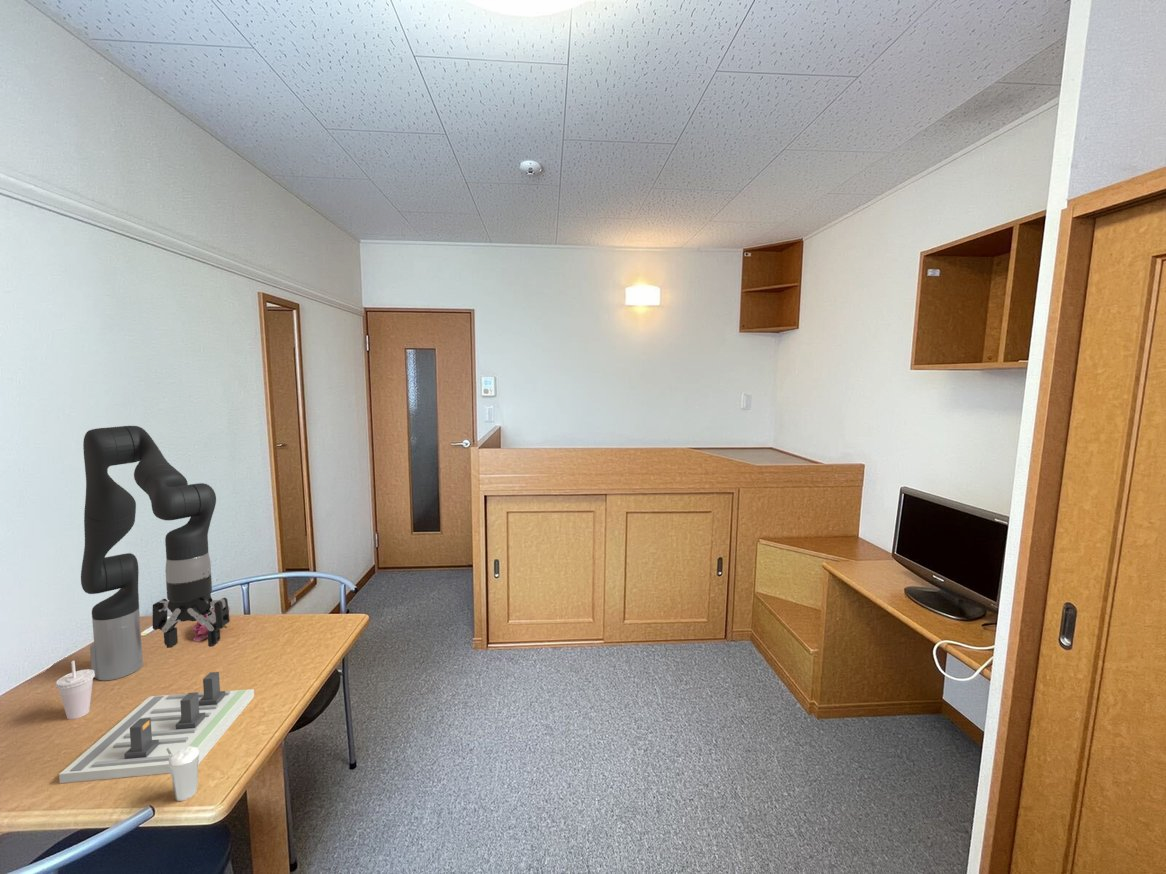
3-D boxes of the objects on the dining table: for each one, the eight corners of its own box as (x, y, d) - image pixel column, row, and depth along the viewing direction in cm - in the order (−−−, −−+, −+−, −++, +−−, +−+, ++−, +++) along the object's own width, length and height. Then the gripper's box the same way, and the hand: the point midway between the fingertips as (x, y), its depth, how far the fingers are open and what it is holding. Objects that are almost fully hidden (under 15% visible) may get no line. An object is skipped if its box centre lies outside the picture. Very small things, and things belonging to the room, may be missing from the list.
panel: (59, 783, 93) (56, 742, 92) (150, 703, 117) (147, 670, 116) (193, 770, 97) (190, 731, 96) (254, 696, 121) (252, 664, 120)
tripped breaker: (124, 759, 97) (122, 729, 96) (138, 746, 100) (136, 717, 100) (146, 757, 97) (144, 727, 97) (158, 744, 101) (157, 716, 100)
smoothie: (52, 726, 108) (47, 670, 107) (67, 709, 114) (62, 656, 112) (90, 718, 111) (86, 663, 110) (102, 702, 117) (98, 650, 115)
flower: (193, 654, 144) (175, 627, 144) (217, 639, 154) (200, 614, 154) (223, 633, 144) (205, 607, 144) (246, 620, 154) (229, 596, 154)
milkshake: (178, 785, 94) (176, 739, 93) (206, 784, 94) (204, 738, 93) (160, 805, 89) (157, 757, 88) (189, 803, 89) (187, 756, 88)
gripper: (138, 582, 96) (143, 656, 98) (211, 581, 98) (215, 653, 99) (167, 569, 104) (171, 637, 105) (234, 568, 105) (238, 635, 107)
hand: (193, 645), depth 102 cm, fingers open, 8 cm apart
